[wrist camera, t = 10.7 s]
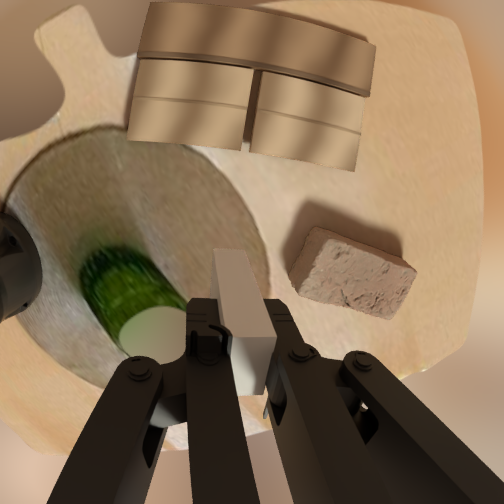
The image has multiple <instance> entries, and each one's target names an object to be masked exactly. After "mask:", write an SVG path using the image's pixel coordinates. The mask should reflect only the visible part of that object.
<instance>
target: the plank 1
mask: <svg viewBox="0 0 504 504" xmlns="http://www.w3.org/2000/svg"><path fill="white" fill-rule="evenodd" d="M253 72H254V70H253V69H247V68H240V67H234V66H226V65H218V64H210V63H200V62H189V61H174V60H146V59H141V60H140V65H139V69H138V74H137V79H136V84H135V89H134V95H133V99H132V106H131V112H130V119H129V126H128V133H127V140H134V141H151V142H165V143H177V144H187V145H197V146H206V147H215V148H223V149H231V150H238V151H241V145H242V139H243V132H244V126H245V120H246V114H247V108H248V101H249V95H250V90H251V84H252V78H253Z"/></svg>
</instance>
